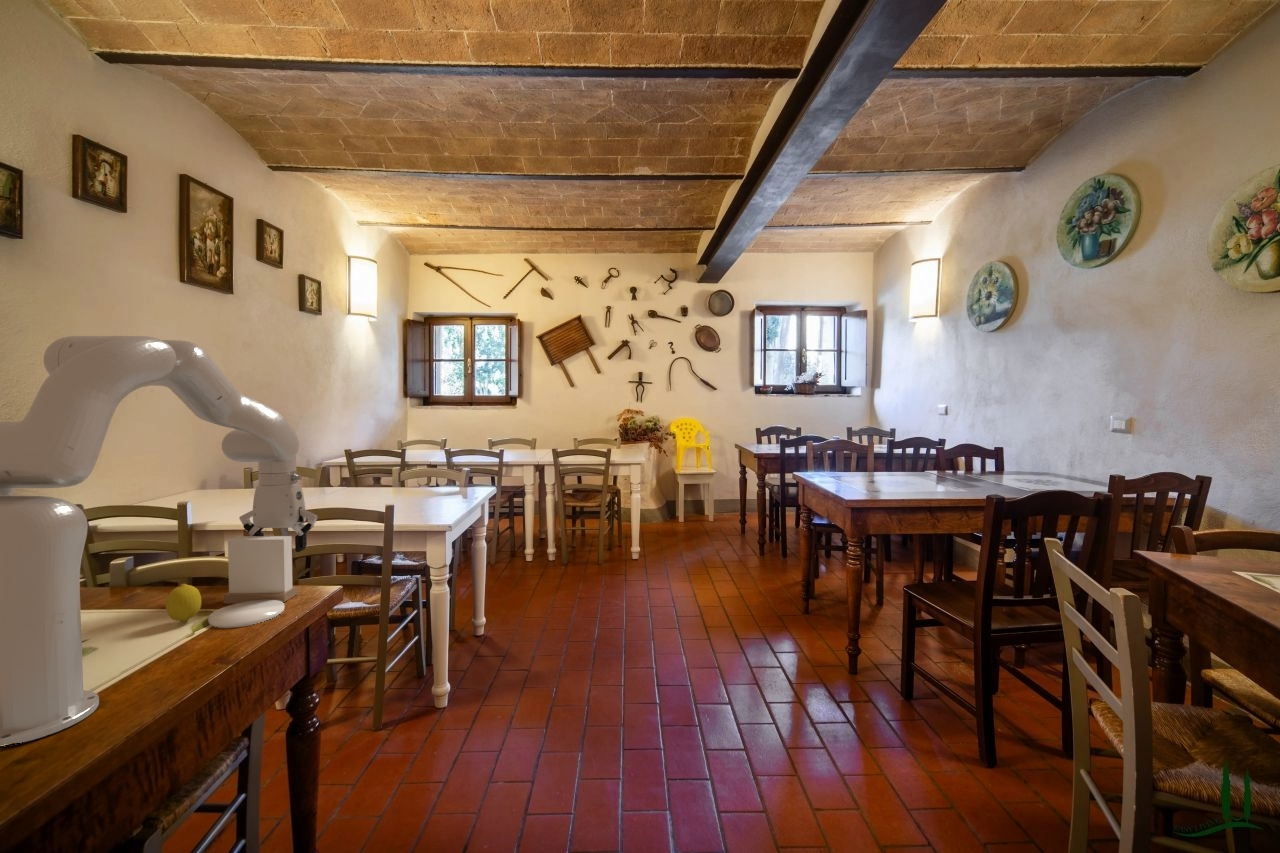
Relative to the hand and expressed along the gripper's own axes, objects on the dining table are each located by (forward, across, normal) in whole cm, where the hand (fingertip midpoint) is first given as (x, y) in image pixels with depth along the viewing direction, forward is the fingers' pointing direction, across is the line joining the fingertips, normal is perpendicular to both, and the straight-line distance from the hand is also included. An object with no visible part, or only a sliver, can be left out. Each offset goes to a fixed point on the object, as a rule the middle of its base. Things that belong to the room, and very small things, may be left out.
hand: (279, 550), depth 132 cm
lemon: (+9, +7, +20) cm, 23 cm away
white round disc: (+9, -3, +17) cm, 19 cm away
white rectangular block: (+9, 0, +7) cm, 12 cm away
